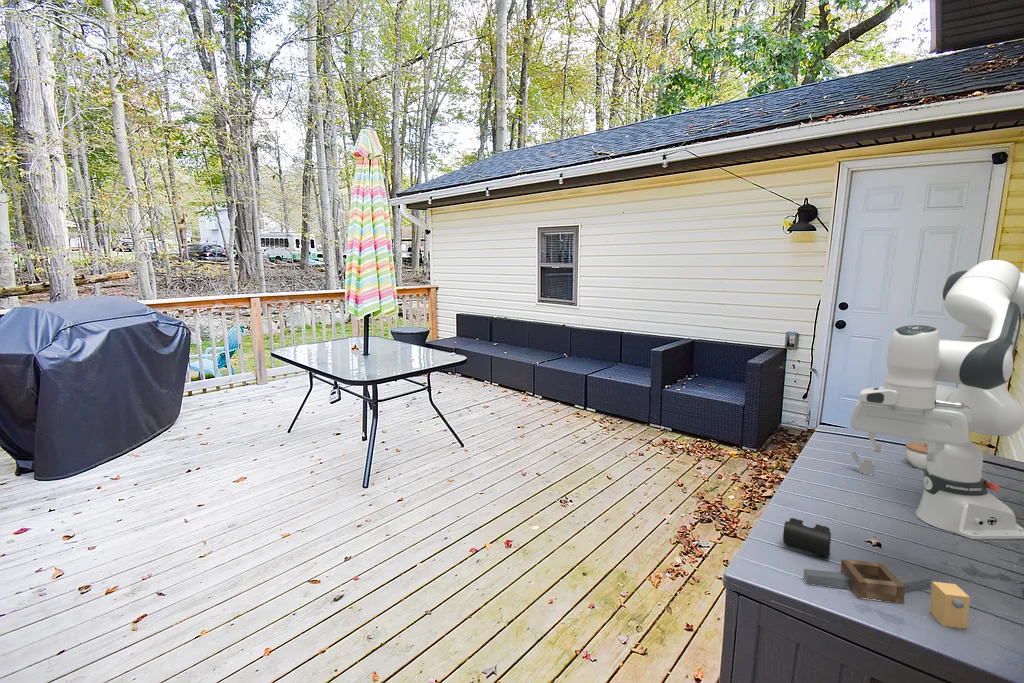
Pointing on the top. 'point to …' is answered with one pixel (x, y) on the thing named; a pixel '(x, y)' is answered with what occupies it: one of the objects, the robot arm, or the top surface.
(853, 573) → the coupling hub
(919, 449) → the lidded jar
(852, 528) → the top surface
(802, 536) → the end cap
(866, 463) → the lighter
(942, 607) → the block
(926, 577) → the steel shafts
